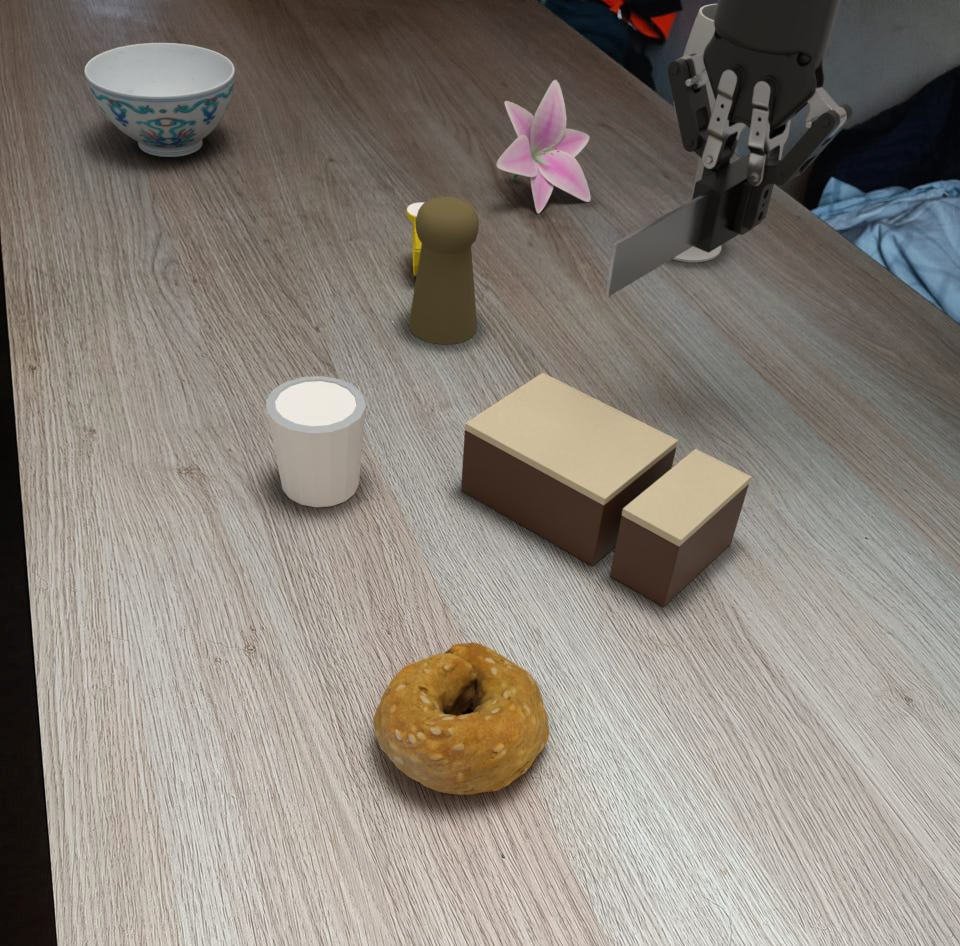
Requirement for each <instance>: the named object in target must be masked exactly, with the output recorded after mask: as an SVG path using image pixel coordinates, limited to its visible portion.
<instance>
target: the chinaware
mask: <svg viewBox="0 0 960 946" xmlns="http://www.w3.org/2000/svg"><path fill="white" fill-rule="evenodd" d="M235 70H236V69H235V66H234V64H233V62H232V61H231V60H230V59H229V58H228V57H226V56H225V55H223V54H221V53H220V52H217V51H215V50H212V49H209V48H206V47H202V46H197V45H193V44H185V43H174V42H148V43H147V42H146V43H145V42H144V43H136V44H128V45H123V46H118V47H115V48H112V49H108V50H105V51H103V52H100V53H99V54H97V55H95V56H94V57H92V58H91V59H89V61H88V62H86V65H85V67H84V76H85V79H86V81H87V84H88V87H89V89H90V91H91V93H92V97H93V98H94V100H95V101H96V104H97V105H98V107H99V108H100V110H101V111H102V113H103V114H104V115H105V117H106V118H107V119H108V120H109V121H110V122H111V124H113V125H114V127H116V128H117V129H118V130H119V131H121V132H122V133H123V134H125V135H126V136H127V137H128V138H131V140H134V141H136V142H137V144H138V147H139V148H140V150H142V151H143V152H144V153H146V154H149V155H151V156H156V157H163V158H177V157H185V156H188V155H191V154H193V153H196V152H197V151H199V150H200V149H201V148H202V146H203V139H205V138H206V137H207V136H208V135H210V134H211V133H212V132H213V131H214V130H215V129H216V128H217V127H218V125H219V124H220V123H221V121H223V118H224V117H225V115H226V112H227V110H228V108H229V106H230V103H231V99H232V96H233V91H234V84H235V74H236V73H235V72H236V71H235Z"/></svg>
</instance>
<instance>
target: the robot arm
mask: <svg viewBox="0 0 960 946" xmlns="http://www.w3.org/2000/svg"><path fill="white" fill-rule="evenodd" d="M840 3H841V0H717V3H716V4H717V9H716V14H715V19H714V26H715V32H714V35H713V37H712V39H711V40H710V42H709V43H708V44H707V46H706V48H705V50H704V53H701V54H698V55H697V54H695V53H693V54H690V55H686V56H684V57H683V56H681V57H679V58H677V59H676V60H673V61H671V62H670V63H669V65H668V67H667V75H668V80H669V85H670V89H671V94H672V99H673V103H674V104H675V109H676V114H677V119H678V122H677V123H678V129H679V133H680V138H681V143H682V146H683V149H684V150H685V151H686V152H687V153H692V152H694V154H696V155H697V156H698V155H699V156H700V157H701V159H702V163H703V165H704V169H703V174H702V179H703V178H705V177H707V176H708V175H710V174H712V173H714V172H716V171H718V170H720V169H721V168H723V167H725V166H727V165H729V164H731V163H732V162H731V159H732V158H733V157H734V155H735V152H736V150H737V145H738V142H739V139H740V137H741V134H742V132H743V131H744V130H745V129H744V127H745V126H746V125H747V127H748V129H749V133H748V140H747V149H748V150H749V153H750V157H749V164H748V171H747V182H745V183H744V184H743V188H742V192H741V196H740V200H739V205H738V209H737V213H736V217H735V221H734V226H733V232H735V233H738V234H739V235H740V236H743V235H745V234H747V233H749V232H750V231H751V230H753V229H754V228H756V227H757V226H759V225H761V223H762V222H763V220H765V219H764V217H765V213H766V209H767V204H768V201H769V197H770V193H771V189H772V186H773V184H774V185H776V186H779V187H780V186H784V185H786V184H788V183H789V182H790V181H792V180H793V179H795V178H797V177H799V176H801V175H802V174H803V173H804V172H805V171H806V170H807V168H809V167H810V165H811V164H812V163H813V162H814V161H815V160H816V158H817V157H818V156H819V155H820V154H821V153H822V152H823V151H824V150H825V149H826V148H827V146H828V145H829V144H830V143H831V142H832V141H833V140H834V138H835V137H837V135H838V134H839V133H840V132H841V131H842V130H843V129H844V128H845V126H846V125H847V124H848V123H849V122H850V121H851V119H852V118H853V109H852V107H851V106H850V105H849V104H847V103H840V104H837V102H836V101H835V100H834V99H833V97H832V96H831V95H830V94H829V93H828V92H827V90H826V89H825V88H824V85H825V81H826V80H825V79H826V78H825V77H826V75H825V71H824V57H825V54H826V51H827V48H828V46H829V43H830V41H831V40H830V39H831V36H832V33H833V28H834V26H835V21H836V18H837V15H838V10H839V6H840ZM708 78H709V81H710V85H711V88H712V91H713V94H714V97H715V104H714V108H713V111H712V114H711V109H710V103H709V98H708V93H707V88H706V84H707V82H708ZM674 104H673V105H674ZM807 105H808V108H809V109H808V113H807V116H806V117H805V119H804V128H805V129H806V132H805V133H804V134H803V135H802V136H801V137H800V139H799V140H798V141H797V142H796V143H795V144H794V145H793V147H792V148H791V149H790V150H789V151H788V152H787V154H786V155H785V156H784V157H783V150H784V146H785V144H786V143H787V140H788V139H789V135H790V128H791V122H792V118H794V117H795V116H796V115H797V114H799V113H800V111H802V110H803V109H804V108H805V107H806V106H807ZM743 129H744V130H743ZM742 130H743V131H742ZM741 131H742V132H741ZM782 157H783V158H782ZM773 187H774V186H773ZM765 218H766V217H765Z"/></svg>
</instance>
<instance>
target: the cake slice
mask: <svg viewBox="0 0 960 946" xmlns="http://www.w3.org/2000/svg"><path fill="white" fill-rule="evenodd" d="M751 480H752V476H751V475H749V474H747V473H745V472H743V471H741V470H739V469H737V468H735V467H733V466H731V465H729V464H727V463H725V462H723V461H721V460H719V459H717V458H715V457H713V456H712V455H709V454H707V453H705V452H703V451H701V450H700V449H697V448H695V449H694V450H692V451H691V452H690V453H688V454H687V455H686V456H685V457H683V458H682V459H681V460H680V461H679V462H678V463H676V464H675V465H673V466H672V468H671V469H670V470H669V471H668V472H667V473H666V474H664V475H663V476H662V477H661V478H659V479H658V480H657V481H656V482H655V483H653V484H652V485H651V486H650V487H649V488H647V489H646V490H645V491H644V492H642V493H641V494H640V495H639V496H638V497H636V498H635V499H634V500H633V501H632V502H630V503H629V504H628V505H627V506H625V507H624V508H623V511H622V517H621V522H620V527H619V532H618V537H617V542H616V546H615V547H614V551H613V557H612V563H611V567H610V571H609V576H610V577H611V578H613V579H614V580H616V581H618V582H620V583H621V584H623V585H624V586H627V587H628V588H630V589H632V590H634V591H636V592H637V593H639V594H641V595H642V596H644V597H645V598H647V599H650V600H651V601H652V602H655V603H656V604H658V605H659V606H661V607H665V606H666V605H668V604H669V603H670V602H671V600H673V599H674V598H675V597H676V596H677V595H678V594H679V593H680V592H681V591H682V590H684V588H685V587H686V586H687V585H689V584H690V582H692V581H693V580H695V578H696V577H697V576H698V575H699V574H700V573H701V572H702V571H704V570H705V569H706V568H707V566H709V565H710V564H711V563H712V562H713V561H714V560H715V559H716V558H717V557H718V556H719V555H720V554H721V553H722V552H723V551H724V550H726V549H727V548H728V547H729V546H730V545H731V544H732V543H733V539H734V535H735V532H736V529H737V526H738V522H739V519H740V515H741V512H742V509H743V507H744V506H743V505H744V502H745V499H746V495H747V492H748V490H749V485H750V483H751Z"/></svg>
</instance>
